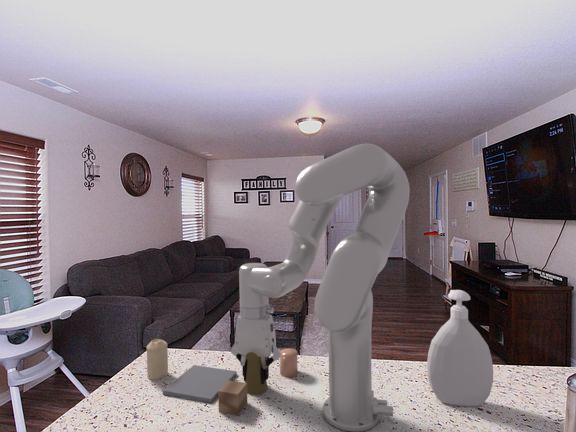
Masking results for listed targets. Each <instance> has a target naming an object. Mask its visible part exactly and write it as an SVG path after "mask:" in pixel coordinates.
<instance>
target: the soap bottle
mask: <svg viewBox="0 0 576 432" xmlns="http://www.w3.org/2000/svg"><path fill="white" fill-rule="evenodd" d="M447 296H448V299H450V300H454V301H456V304H453V305H452V306H451V307H450V318H449V319H448V320H447V321H446V322H445V323H444V324H443V325H441V327H439V330H438V331H437V332H436V334H435V335H434V336H433V338H432V339H431V341H430V345H429V349H428V353H427V361H426V368H427V369H426V371H427V372H426V375H427V379H428V383H429V387H430V389H431V391H432V392H433V394H434V395H435V397H436V399H438V400H439V402H441V403H443V404H446V405H451V406H457V407H467V408H468V407H472V408H475V407H480V406H482V405H484V404H485V402H486V401H487V399H488V398H489V397H490V394H491V391H492V388H493V383H494V367H493V359H492V355H491V351H490V348H489V345H488V344H487V342H486V341H485V339H484V337H482V335H481V334H480V332H479V331H478V329H476V328H475V326H474V325H473V324H472V323H471V321H470V320H469V310H468V308H467V307H466V306H465V305H463V302H464V301H465V302H467V301H470V300H471V296H470V294H469V293H467V292H466V291H465V290H461V289H450V291H449V292H448V295H447Z"/></svg>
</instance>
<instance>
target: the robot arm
mask: <svg viewBox="0 0 576 432" xmlns="http://www.w3.org/2000/svg"><path fill="white" fill-rule="evenodd" d="M294 185H295V186H294V189H295V194H296V196H297V198H298V199H299V202H298V203H297V205H296V208H295V210H294V211H293V213H292V215H291V218H290V219H289V221H288V229H289V231H290V232H291V234H292V242H291V245H290V248H289V251H288V253H287V254H286V257H285V259H284V261H283V262H281V263H279V264H275V265H273V266H269V267H268V266H267V265H266V264H265V263H262V262H248V263H244V264H242V265H240V267H239V268H238V269H239V270H238V275H239V276H238V280H239V281H238V282H239V287H238V288H239V315H238V316H237V320H236V325H235V335H234V344H233V345H232V347H231V348H230V351H229V352H230V353H231V354H232V355H233V356H235V358H236V359H237V361H238V362H240V363H239V364H240V366H241V369H242V377H243V382H244V383H245V382H246V373H247V361H248V360H247V359H246V356H245V355H247V353H249V352H253V353H255V354H257V356H258V357H261V363H262V368H261V370H260V376H261V384H264V382H265V380H266V381H267V380H269V377H270V375H269V374H270V373H269V372H270V369H269V368H270V365H272V363H273V362H276V361H278V360H280V357H281V354H280V351H279V349H278V347H277V340H276V338H277V337H276V329H275V322H274V318H273V315H272V314H274V312H275V309H274V307H270V303H269V301H270V300H269V299H270V298H271V299H277V298H280V297H283V296H285V295H287V294H288V293H290V292H292V291H293V290H296V289H297V288H299V287H300V286H301V285H302V284H303V283H304V280H305V279H306V277H307V275H308V274H309V272H310V271H311V268H312V266H313V265H314V262H315V260H316V258H317V254H318V251H319V246H320V241H321V238H322V236H323V234H324V233H325V231H326V229H327V227H328V225H329V223H330V221H331V219H332V218H333V215H334V213H335V212H336V210H337V207H338V206H339V204H340V202H341V200H342V198H343V196H346V195H349V194H352V193H354V192H358V191H361V190H363V189H368V193H369V194H368V198H367V200H366V202H365V204H364V206H363V208H362V211H361V213H360V216H359V219H358V221H357V223H356V226H355V228H354V230H353V233H352V234H351V235H348V236H346V237H344V238H343V239H342V240H340V242H338V243H337V245H336V246H335V248H334V250H333V251H332V254H331V255H330V259H329V261H328V263H327V266H326V268H325V270H324V271H325V272H324V274H323V276H322V279H321V281H320V284H319V287H318V290H317V292H316V295H315V299H314V314H315V316H316V318H317V321H318V322H319V324H321V326H322V327H323V328H324V329H326V330H327V331H328V391H329V392H328V393H329V394H328V395H329V397H328V398H326V399H325V400H324V402H323V404H322V415H323V417H324V419H325V420H326V421H327V422H328V424H330V425H331V426H332V427H335V428H336V429H339V430H342V431H347V432H365V431H368V430H370V429H372V428H374V427H375V426H376V425H377V424H378V422H379V419H380V415H384V416H386V417H394V407H393V405H388V400H387V399H380V398H377V397H375V391H374V390H372V389H373V388H372V383H373V382H372V380H373V377H372V324H373V323H372V322H373V308H374V296H373V292H372V288H373V285H374V284H375V281H376V279H377V278H378V275H379V273H381V272H382V271H383V269H384V268H385V266H386V264H387V262H388V260H389V259H388V258H389V256H390V252H391V250H392V247H393V246H394V242H395V240H396V238H397V236H398V233H399V231H400V230H399V229H400V227H401V225H402V222H403V219H404V217H405V214H406V211H407V209H408V204H409V201H410V192H411V191H410V183H409V179H408V177H407V174H406V172H405V171H404V169H403V167H402V166H401V165H400V164H399V162H397V161H396V159H395V158H394V157H393V156H392V155H391V154H390V153H388V152H387V151H385V149H383V148H382V147H380V146H378V145H376V144H373V143H359V144H357V145H352V146H350V147H348V148H346V149H344V150H342V151H339V152H337V153H335V154H333V155H330V156H328V157H326V158H324V159H322V160H319V161H317V162H314V163H312V164H310V165H308V166H307V167H306V168H305V167H304V169H303V170H302V171H301V172H300V173H299V174H298V176H297V178H296V180H295V184H294ZM272 354H273V355H272Z"/></svg>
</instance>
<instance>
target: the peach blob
mask: <svg viewBox="0 0 576 432" xmlns="http://www.w3.org/2000/svg"><path fill="white" fill-rule="evenodd" d="M279 352H280V354H281V357H280V358H279V372H280V373H279V374H280V375H281V376H282V377H284V378H294V377H296V376H297V375H298V371H299V370H298V350H297V349H295V348H289V347H288V348H283V349H281V350H280V351H279Z"/></svg>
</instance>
